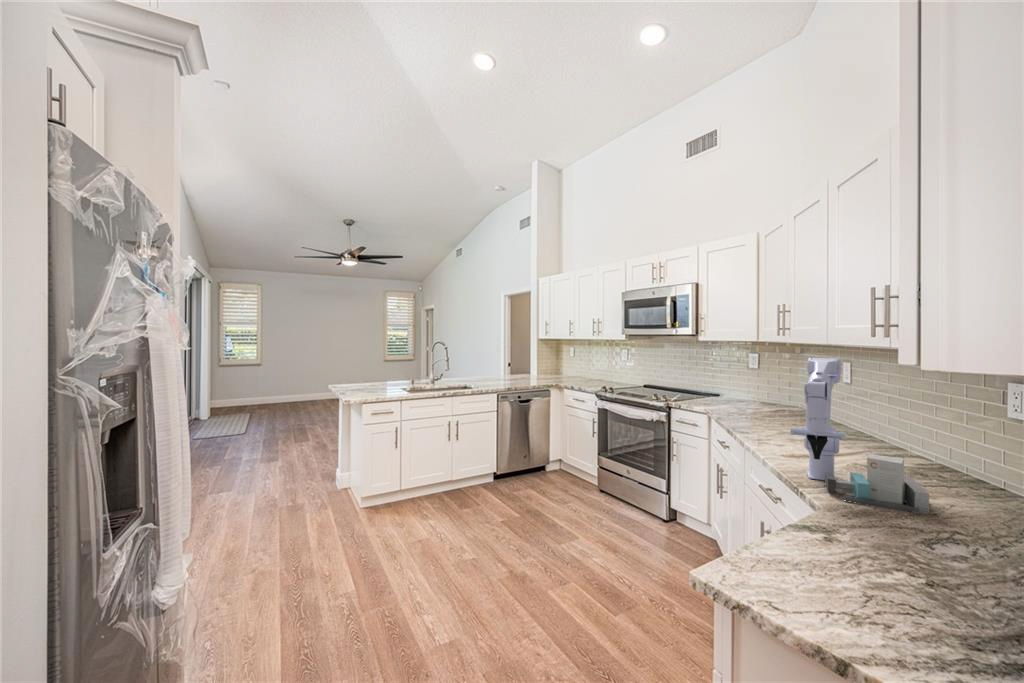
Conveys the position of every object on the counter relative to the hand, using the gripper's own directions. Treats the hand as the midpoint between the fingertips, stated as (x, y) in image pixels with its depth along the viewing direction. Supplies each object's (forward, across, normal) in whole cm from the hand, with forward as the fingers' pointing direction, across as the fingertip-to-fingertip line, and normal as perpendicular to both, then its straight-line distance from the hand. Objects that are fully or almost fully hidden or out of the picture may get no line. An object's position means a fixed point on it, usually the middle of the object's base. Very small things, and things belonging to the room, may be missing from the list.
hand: (816, 458), depth 135 cm
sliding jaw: (+10, +8, 0) cm, 13 cm away
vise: (+10, +16, 0) cm, 19 cm away
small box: (+11, +17, 0) cm, 20 cm away
